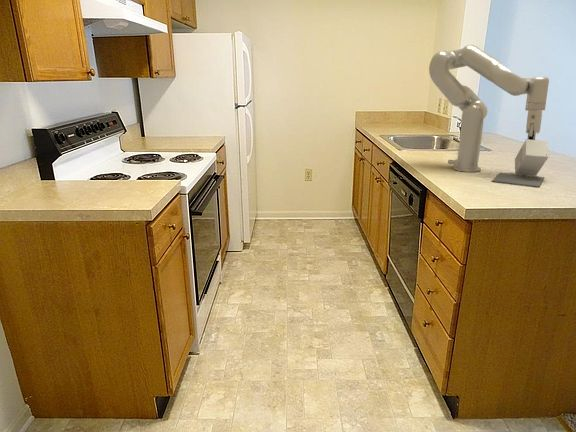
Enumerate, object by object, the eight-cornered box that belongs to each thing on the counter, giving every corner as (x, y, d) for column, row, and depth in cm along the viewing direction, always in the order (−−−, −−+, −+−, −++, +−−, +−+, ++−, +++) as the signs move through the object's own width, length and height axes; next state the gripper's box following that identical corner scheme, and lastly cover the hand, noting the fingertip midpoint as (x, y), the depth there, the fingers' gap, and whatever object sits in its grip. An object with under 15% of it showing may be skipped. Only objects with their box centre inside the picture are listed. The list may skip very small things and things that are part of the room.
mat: (491, 181, 179) (491, 180, 179) (499, 173, 194) (499, 172, 194) (539, 187, 169) (539, 186, 169) (543, 178, 184) (544, 177, 184)
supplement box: (535, 160, 191) (548, 140, 178) (536, 176, 187) (549, 157, 174) (514, 158, 193) (525, 138, 180) (514, 174, 189) (525, 155, 176)
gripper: (544, 107, 173) (538, 151, 178) (546, 105, 184) (540, 146, 190) (523, 108, 177) (518, 150, 182) (527, 105, 189) (522, 146, 194)
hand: (529, 148), depth 186 cm, fingers closed
